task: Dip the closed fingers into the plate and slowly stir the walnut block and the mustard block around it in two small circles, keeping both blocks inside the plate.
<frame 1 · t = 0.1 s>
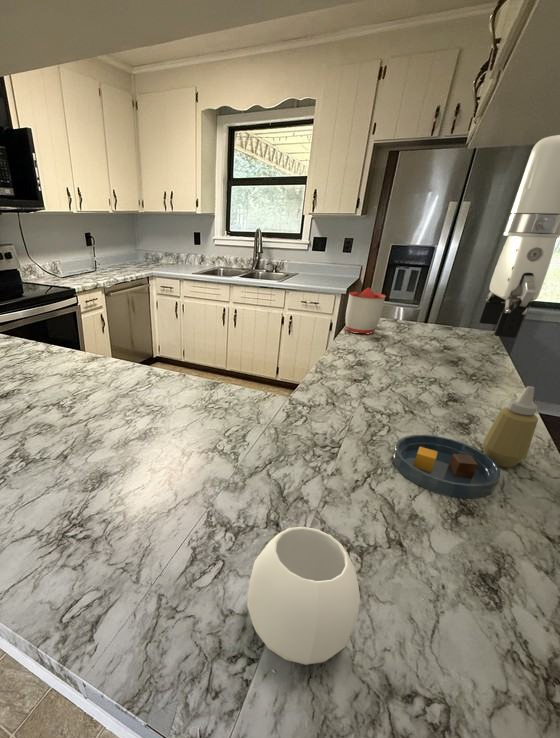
hand: (495, 329, 73), 30 cm above the counter, tool pointing down, fingers open, 9 cm apart
mustard block: (423, 466, 85), resting on plate
cup: (294, 628, 52), on the counter
squeeze bottle: (498, 462, 88), on the counter
walnut block: (459, 472, 83), resting on plate
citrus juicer: (358, 331, 186), on the counter
plate: (440, 471, 84), on the counter
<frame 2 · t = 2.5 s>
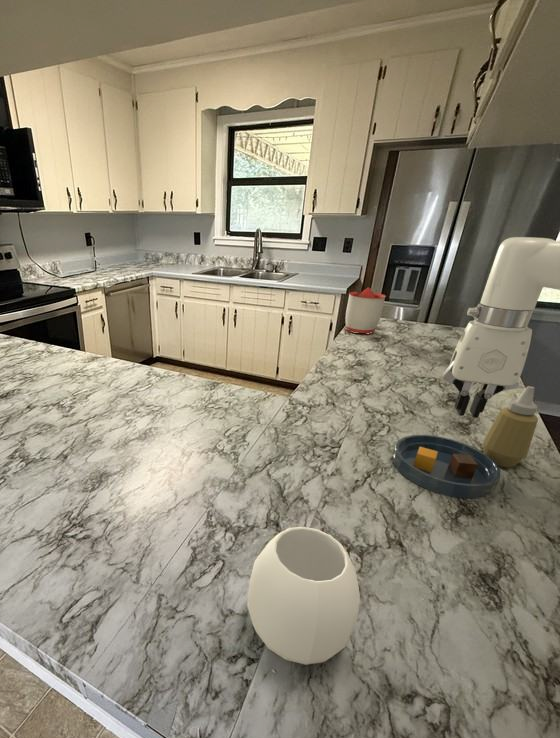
hand: (466, 413, 75), 15 cm above the counter, tool pointing down, fingers closed
nothing on the counter moved.
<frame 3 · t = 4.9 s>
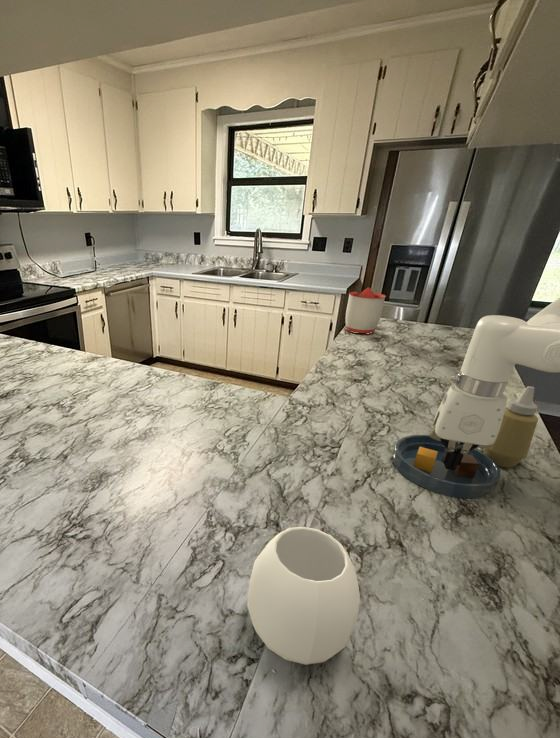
hand: (448, 466, 82), 3 cm above the counter, tool pointing down, fingers closed
walnut block: (461, 472, 83), point 1 cm above the counter, touching plate, gripper
everything else where it was.
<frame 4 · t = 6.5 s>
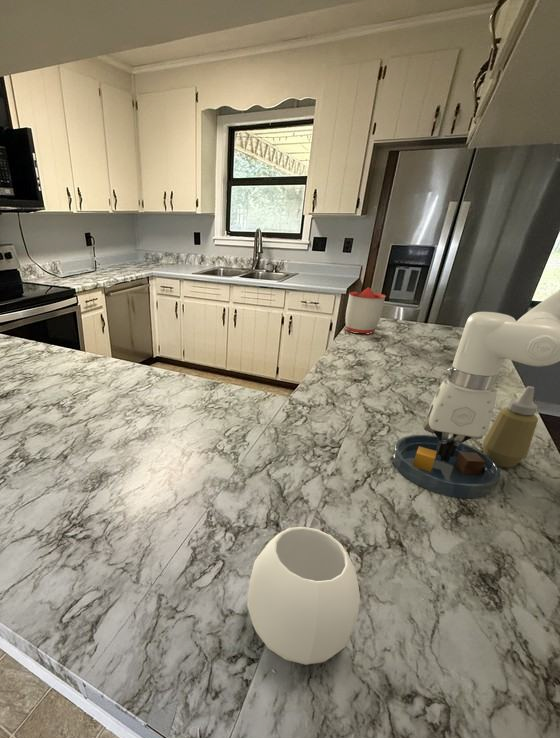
hand: (442, 457, 85), 2 cm above the counter, tool pointing down, fingers closed
mustard block: (422, 465, 85), point 1 cm above the counter, touching plate, gripper
walnut block: (466, 470, 84), point 1 cm above the counter, touching plate
everything else where it was.
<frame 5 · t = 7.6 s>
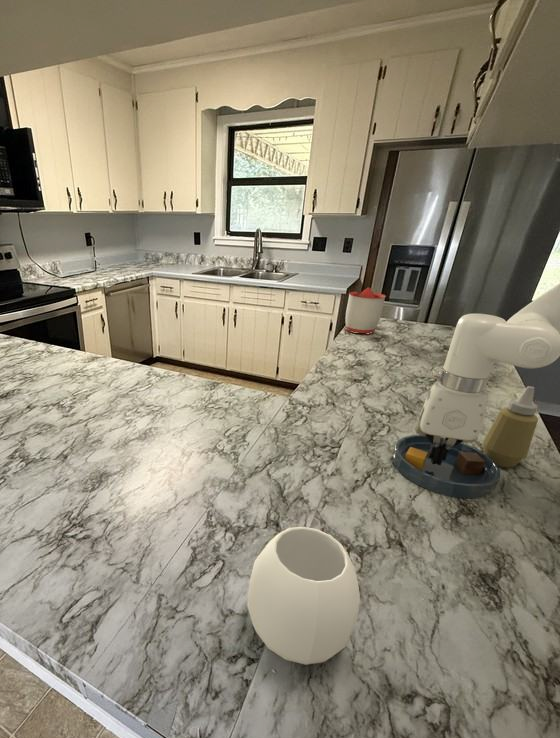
hand: (435, 461, 84), 2 cm above the counter, tool pointing down, fingers closed
mustard block: (412, 466, 85), point 1 cm above the counter, touching plate, gripper
everything else where it was.
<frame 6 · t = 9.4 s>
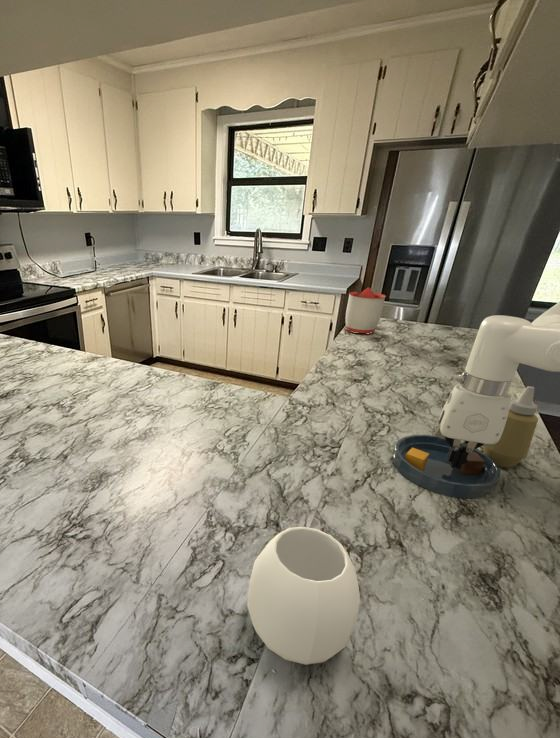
hand: (453, 464, 83), 2 cm above the counter, tool pointing down, fingers closed
mustard block: (413, 467, 85), point 1 cm above the counter, touching plate
walnut block: (466, 470, 84), point 1 cm above the counter, touching plate, gripper
everything else where it was.
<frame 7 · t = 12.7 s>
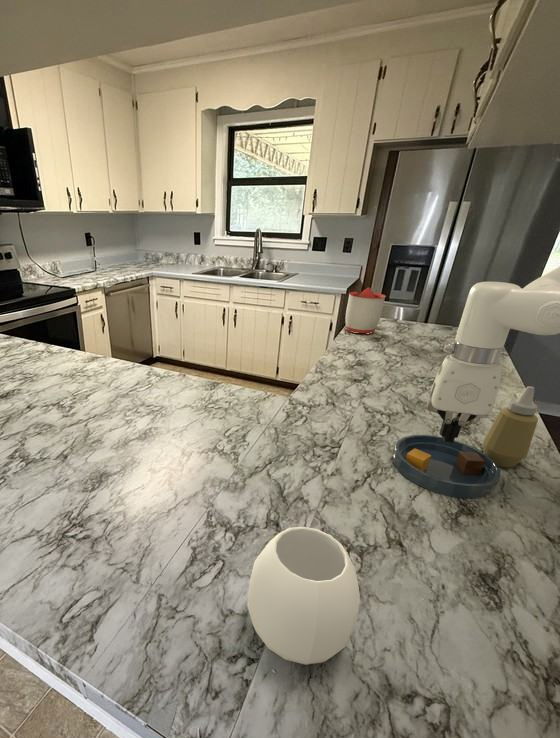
hand: (447, 439, 81), 8 cm above the counter, tool pointing down, fingers closed
walnut block: (466, 470, 84), point 1 cm above the counter, touching plate
everything else where it was.
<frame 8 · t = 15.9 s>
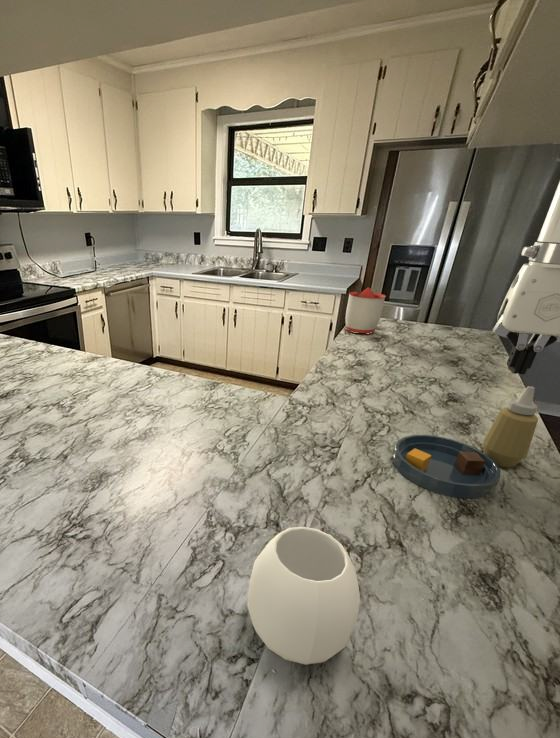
hand: (515, 371, 68), 25 cm above the counter, tool pointing down, fingers closed
nothing on the counter moved.
at the end: walnut block moved 2.3 cm from its start; walnut block inside the target area in the plate (5.4 cm from its centre), point 0.5 cm above the plate's base; mustard block inside the target area in the plate (5.5 cm from its centre), point 0.5 cm above the plate's base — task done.
